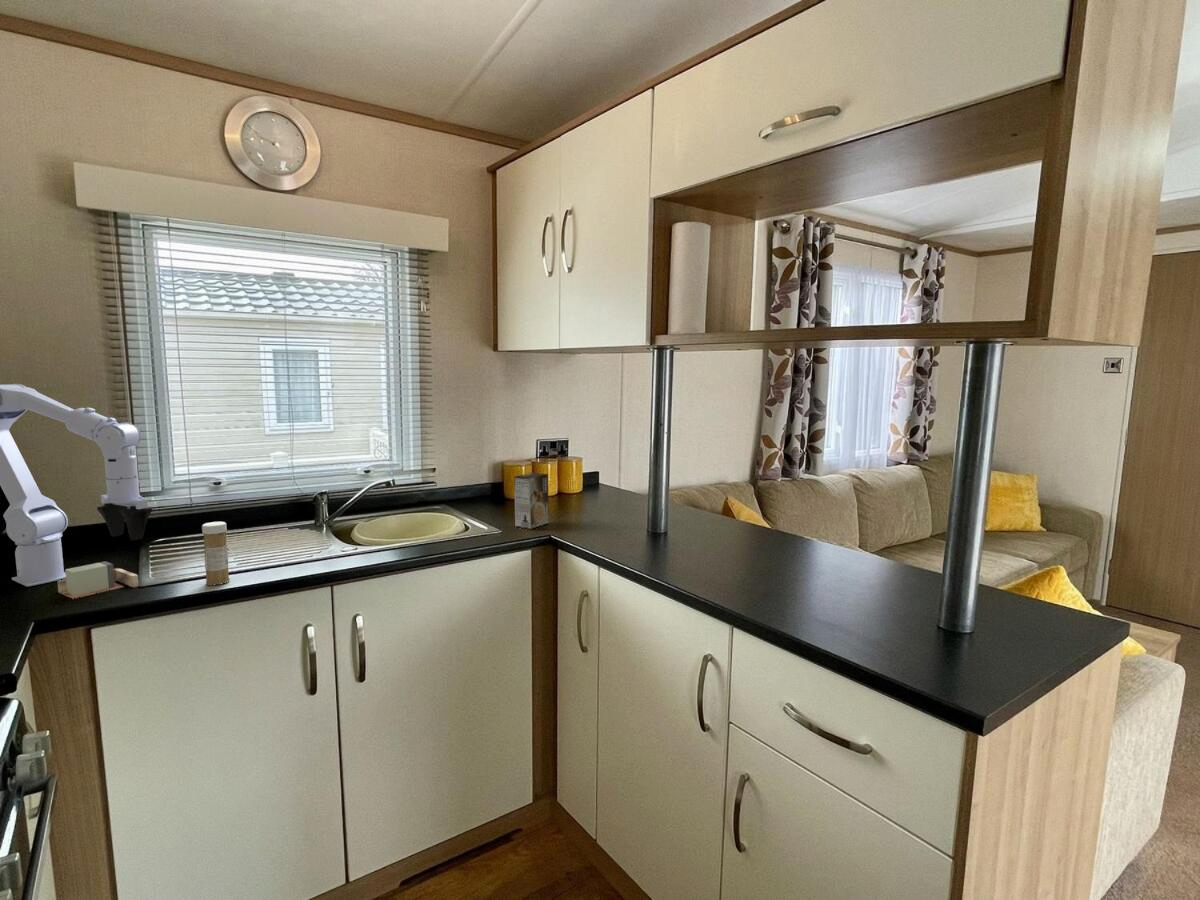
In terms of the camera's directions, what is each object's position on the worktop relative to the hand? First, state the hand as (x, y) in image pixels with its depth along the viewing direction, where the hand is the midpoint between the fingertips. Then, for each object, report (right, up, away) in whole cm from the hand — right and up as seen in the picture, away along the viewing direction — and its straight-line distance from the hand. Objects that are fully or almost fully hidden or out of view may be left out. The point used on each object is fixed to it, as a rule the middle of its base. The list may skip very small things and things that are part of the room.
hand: (127, 537), depth 142 cm
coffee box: (+85, -4, +53) cm, 101 cm away
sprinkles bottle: (+22, -10, -2) cm, 24 cm away
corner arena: (-1, -10, -6) cm, 12 cm away
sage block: (-2, -10, -7) cm, 13 cm away
